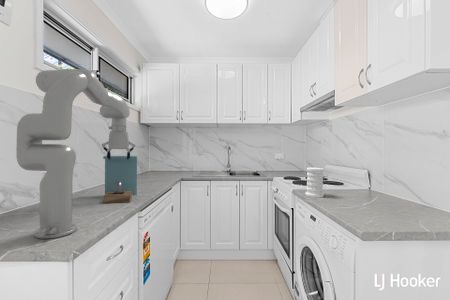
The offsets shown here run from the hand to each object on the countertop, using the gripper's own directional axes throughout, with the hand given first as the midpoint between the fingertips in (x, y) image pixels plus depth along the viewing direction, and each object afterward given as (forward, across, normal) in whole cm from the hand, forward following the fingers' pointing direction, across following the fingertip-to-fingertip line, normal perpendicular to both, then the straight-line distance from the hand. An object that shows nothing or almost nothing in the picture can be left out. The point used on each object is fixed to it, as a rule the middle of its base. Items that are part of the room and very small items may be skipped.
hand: (118, 159), depth 132 cm
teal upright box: (+23, 0, +10) cm, 25 cm away
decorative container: (+23, +121, -14) cm, 124 cm away
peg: (+23, 0, 0) cm, 23 cm away
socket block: (+23, 0, 0) cm, 23 cm away
